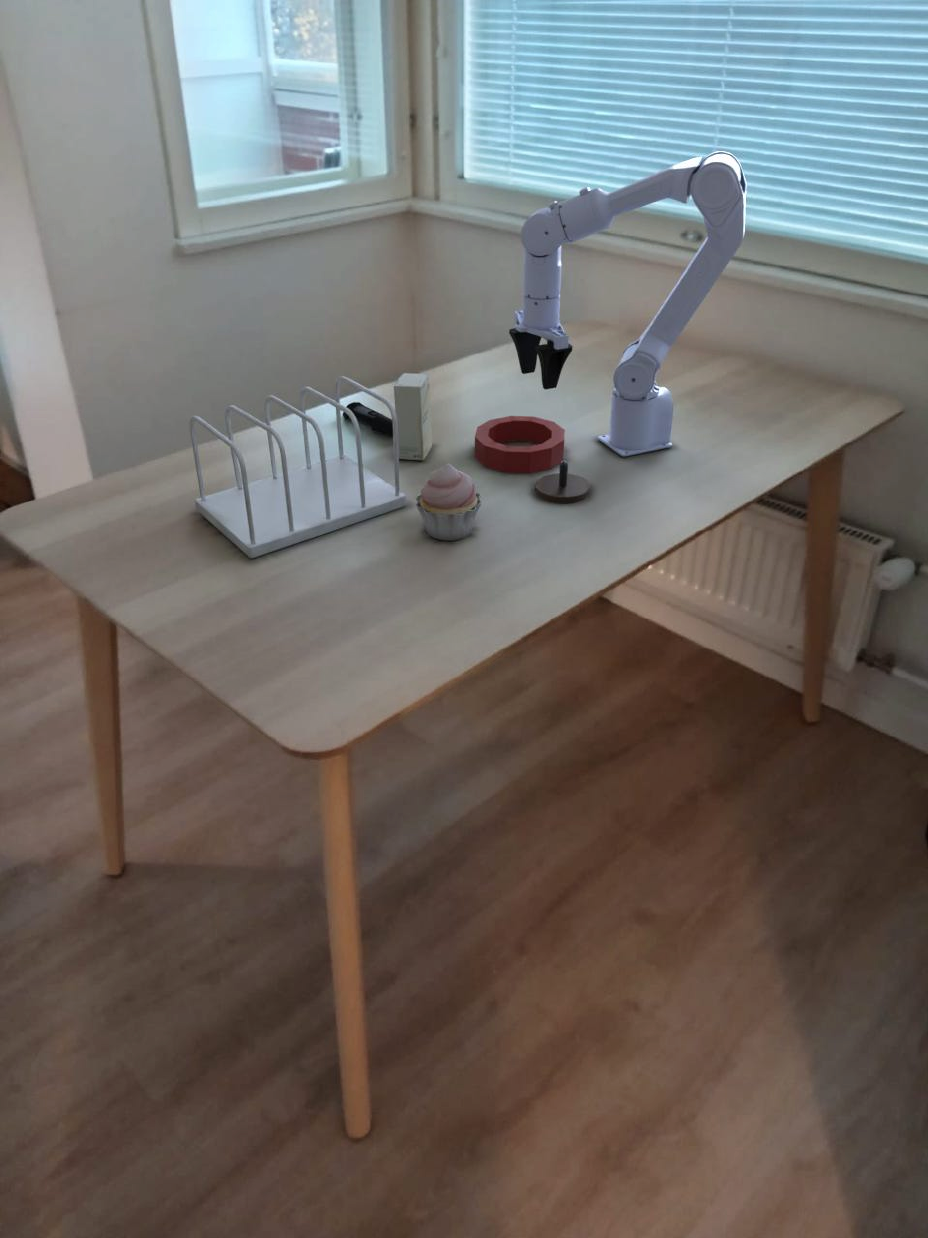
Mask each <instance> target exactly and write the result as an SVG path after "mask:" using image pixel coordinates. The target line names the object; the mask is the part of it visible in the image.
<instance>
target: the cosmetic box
mask: <svg viewBox="0 0 928 1238" xmlns="http://www.w3.org/2000/svg"><path fill="white" fill-rule="evenodd" d="M430 388H431V387H430V374H428V373H414V372H413V373H412V372H403V373H402V374H401V375H400V376H399V378H398V379H397V381H396V382H395V384H394V385H393V394H394V395H393V397H394V409H395V412H396V415H397V423H398V454H399V460H408V461H425V459H426V457H427V456H428V455H429V453H430V450H431V449H432V448H433V429H432V428H433V427H432V409H431V407H432V406H431V389H430Z"/></svg>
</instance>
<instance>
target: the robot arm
mask: <svg viewBox="0 0 928 1238" xmlns="http://www.w3.org/2000/svg"><path fill="white" fill-rule="evenodd" d="M702 158H703V157H702V156H699V157H694V158H691V159H688V160H685V161H682V162H679V163H676V164H673V165H670V166H668V167H666V168H663V169H662V170H659V171H657V172H655V173H651V174H650V175H648V176H646V177H644V178H641V179H639V180H636V181H634V182H632V183H630V184H627V185H625V186H622V187H620V188H618V189H616V190H613V191H611V192H608V191H606V190H603V189H601V188H599V187H595V188H593V189H591V188H590V186H586V187H583V188H581V189H580V190H578V191H579V194H578V195H575V196H573V197H571V198H567V199H566V200H563V201H560V202H558V201H557V200H554V201H552V202H550V203H549V204H548V207H542V208H540V209H537V210H536V211H535V212H534V213H533V214H531V215H530V216H529V217H528V218H527V219H526V220H525V222H524V223H523V225H522V227H521V230H520V241H521V245H522V246H523V248H524V254H523V255H524V262H523V271H522V272H523V275H522V278H523V279H522V309H521V310H515V311H514V317H513V318H514V319H513V320H514V322H513V323H514V324H515V327H514V328H513V327H512V328H510V329H509V330H508V334H509V336H510V338H511V340H512V342H513V345H514V346H515V350H516V353H517V357H518V358H517V359H518V363H519V368H520V371H521V373H522V374H523V375H526V374H532V373H535V371H536V368H537V362H538V361H539V365H540V374H541V385H542V389H544V390H552V389H557V386H558V383H559V380H560V376H561V374H562V371H563V368H564V365H565V363H566V361H567V359H568V358H569V356H570V354H571V353H572V352H573V347H574V346H573V345H572V344H571V343H569V336H570V335H569V334H567V333H566V332H565V330H564V328H563V325H562V323H561V322H560V309H561V289H562V288H561V287H562V286H561V285H562V244H572V243H574V242H577V241H579V240H582V239H585V238H587V237H590V236H592V235H595V234H598V233H601V232H603V231H606V230H609V229H610V228H611V226H612V224H613V222H614V220H615V217H617V216H619V215H622V214H625V213H627V212H631V211H633V210H637V209H639V208H642V207H646V206H649V205H652V204H655V203H657V202H659V201H662V200H665V199H671V200H674V201H677V202H679V203H681V204H686V205H687V204H688V202H689V200H690V198H691V199H692V201H693V203H694V205H695V206H696V208H697V210H698V211H699V213H700V214H701V215H702V217H703V222H704V227H705V230H706V231H705V232H706V236H707V237H706V238H705V240H704V241H703V243H702V244H701V245H700V247H699V248H698V249H697V251H696V253H695V255H694V256H693V258H692V259H691V261H690V262H689V264H688V266H686V268H685V270H684V271H683V273H682V274H681V276H680V278H679V279H678V280H677V282H676V284H675V285H674V286H673V288H672V290H671V291H670V293H669V295H667V297H666V299H665V301H664V302H663V304H662V305H661V306H660V308H659V309H658V311H657V313H656V314H655V316H654V317H653V319H652V320H651V321H650V323H649V324H648V326H647V327H646V328H645V329H644V330H643V332H642V334H641V335H640V336H639V338H637V340H636V341H634V342H631V343H629V345H627V347H626V348H624V350H623V352H622V355H621V357H620V362H619V363H618V365H617V367H616V368H615V370H614V372H613V376H612V381H613V386H612V392H611V393H612V394H611V408H610V418H609V431H608V434H607V433H606V434H603V435H598V437H597V440H599V441H600V443H603V444H604V445H606V446H607V447H608V448H610V449H611V450H612V451H614V452H615V453H617V455H619V456H621V457H623V458H624V457H630V456H635V455H639V454H645V453H649V452H653V451H657V450H663V449H669V448H672V447H673V443H672V442H671V434H672V425H673V417H674V399H673V397H672V394H671V392H670V391H669V389H667V388H666V387H664V386H658V383H657V382H656V381H657V380H656V378H657V374H658V372H659V370H660V368H661V365H662V364H663V363H664V360H666V357H667V356H668V354H669V352H670V350H671V348H672V346H673V345H674V344H675V342H676V341H677V339H678V337H679V336H680V335H681V333H682V332H683V331H684V329H685V328H686V327H687V324H688V323H689V321H690V320H691V319H692V318H693V315H694V314H695V313H696V311H697V310H698V308H699V307H700V305H701V304H702V302H703V301H704V300H705V298H706V297H707V295H708V294H709V292H710V291H711V289H713V286H714V285H715V283H716V282H717V281H718V279H719V278H720V277H721V275H722V274H723V272H724V270H725V269H726V267H727V266H728V264H729V263H730V262H731V260H732V259H733V257H734V255H735V254H737V251H738V249H739V248H740V247H741V245H742V243H743V241H744V237H745V230H746V229H745V226H746V201H747V200H746V199H747V197H746V196H747V195H746V194H747V180H746V177H745V173H744V172H743V167H742V165H741V163H740V160H739V159H738V158H737V156H735V155H734V154H733V153H732V152H731V153H730V152H727V151H721V150H720V151H719V150H718V151H715V152H712V153H710V154H708V155H707V156H706V157H704V158H703V160H702ZM701 160H702V161H701ZM542 339H544V340H545V341H546V343H544V344H541V341H542Z"/></svg>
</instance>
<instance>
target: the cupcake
mask: <svg viewBox="0 0 928 1238" xmlns="http://www.w3.org/2000/svg"><path fill="white" fill-rule="evenodd" d="M481 497H482V493H481V492H477V488H476V486H475V484H474V483H473V480H472V477H470V476H469V474H467V473H465V472H463V471H461V470H457V469H456V468H455V467H454V466H453V465H452V464H450V463H448V462H447V463H446V464H445V465H443V466H442V467H440V468H437V469H436V470H433V471H432V472H431V473H430V474H429V477H428V480H427V481H425V482H424V483H423V485H422V487H421V490H420V494H418V495H416V496H415V497H414V499H415V501H416V503H415V508H416V509H417V511H418V512H419V514H420V516H421V517H422V522H423V524H424V528H425V531H426V533H427V534H428V535H429V536H430V537H431V538H433V539H436V540H439V541H444V542H445V541H446V542H452V541H458V540H462V539H464V538H467V536H469V535H470V534H471V532H472V531H473V527H474V524H475V520H476V517H477V515H478V514H477V513H478V511H479V509H480V508H481V506H482V504H483V500H482V499H481Z"/></svg>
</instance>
